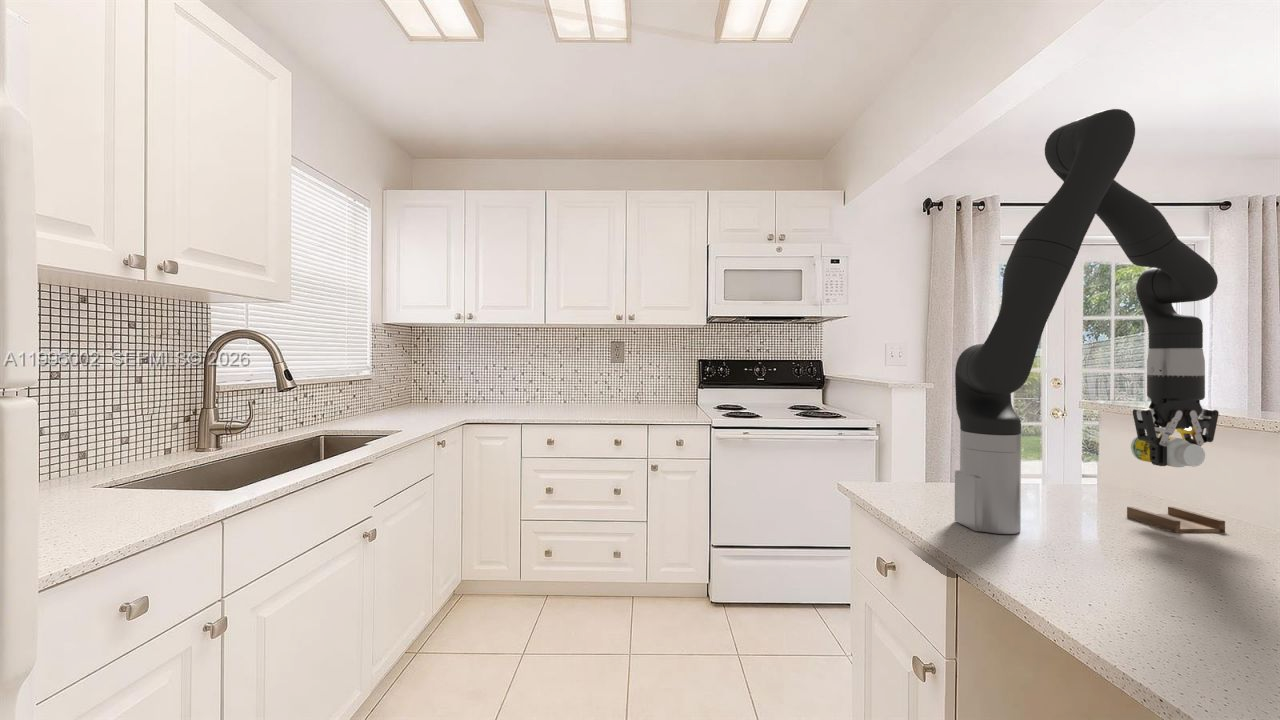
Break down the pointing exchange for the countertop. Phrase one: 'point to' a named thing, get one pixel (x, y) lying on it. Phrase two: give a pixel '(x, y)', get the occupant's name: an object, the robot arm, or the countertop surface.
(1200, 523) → the cradle
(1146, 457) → the supplement bottle
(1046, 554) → the countertop surface
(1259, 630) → the countertop surface
